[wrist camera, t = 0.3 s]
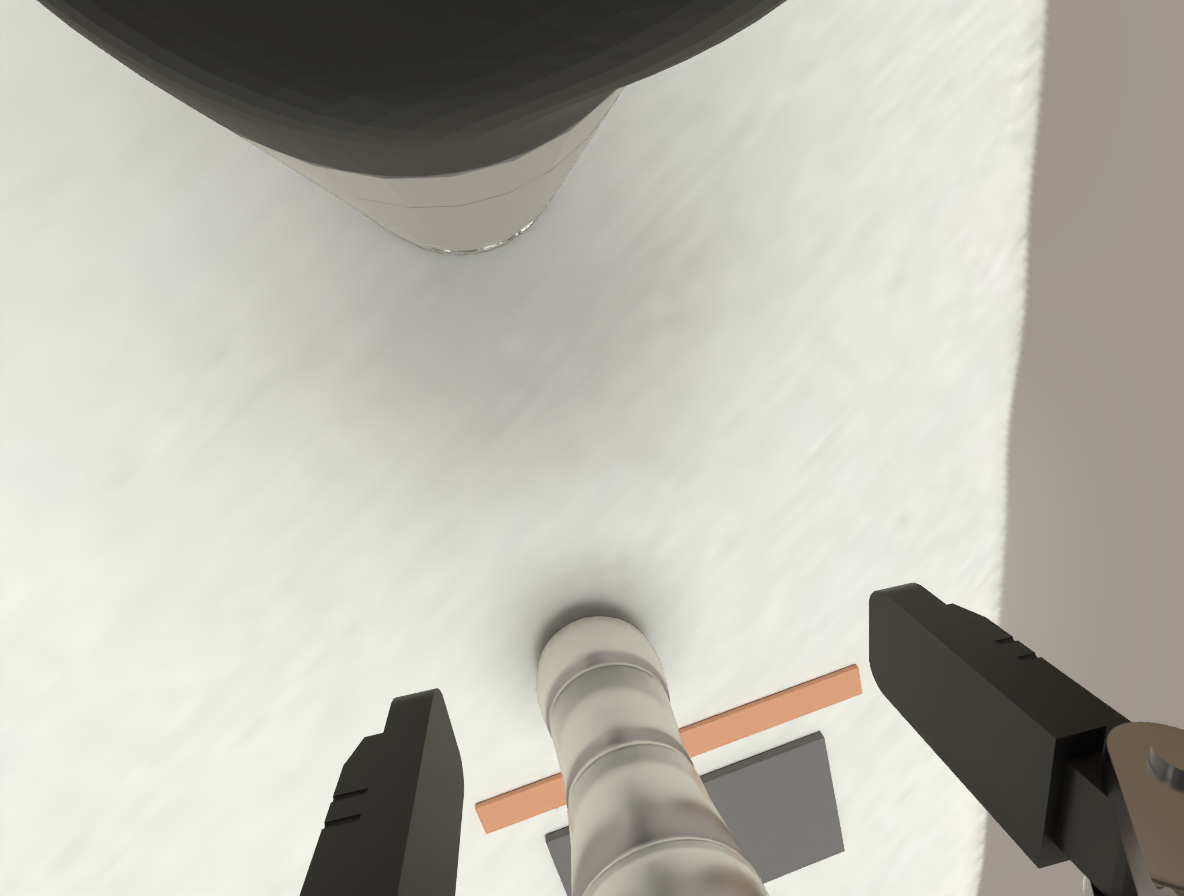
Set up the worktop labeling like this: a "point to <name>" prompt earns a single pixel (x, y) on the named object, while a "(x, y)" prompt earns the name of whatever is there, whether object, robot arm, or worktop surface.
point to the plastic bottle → (631, 772)
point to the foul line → (688, 742)
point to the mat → (764, 810)
